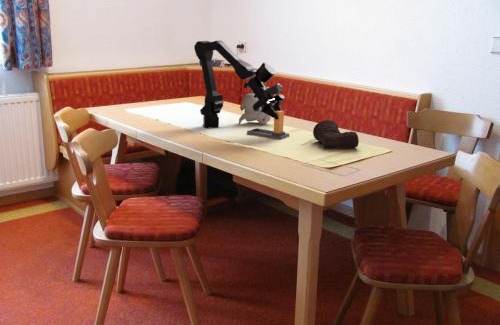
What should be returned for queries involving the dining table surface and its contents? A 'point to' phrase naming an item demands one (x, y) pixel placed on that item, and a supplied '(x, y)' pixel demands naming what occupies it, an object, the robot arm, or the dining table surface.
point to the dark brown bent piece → (334, 135)
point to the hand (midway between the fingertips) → (280, 118)
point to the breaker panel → (254, 132)
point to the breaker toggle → (279, 124)
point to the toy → (249, 112)
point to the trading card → (332, 172)
